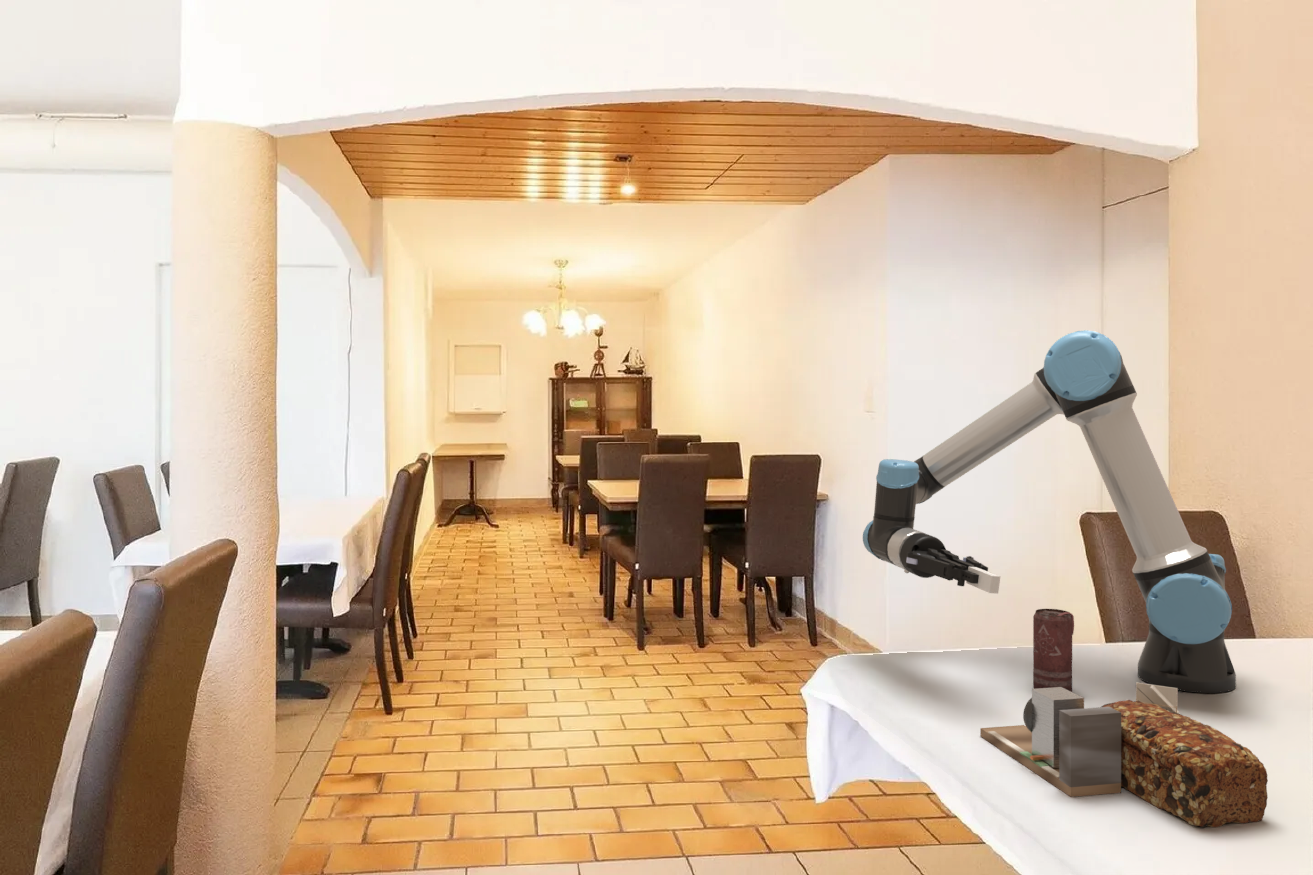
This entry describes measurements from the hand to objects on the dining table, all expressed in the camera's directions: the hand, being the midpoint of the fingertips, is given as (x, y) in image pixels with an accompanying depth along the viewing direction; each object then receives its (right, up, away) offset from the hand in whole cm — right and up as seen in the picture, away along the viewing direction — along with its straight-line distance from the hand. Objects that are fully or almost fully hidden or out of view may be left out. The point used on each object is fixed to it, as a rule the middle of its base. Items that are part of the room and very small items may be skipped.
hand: (995, 584), depth 142 cm
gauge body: (+1, -22, -15) cm, 26 cm away
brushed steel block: (+1, -21, -18) cm, 28 cm away
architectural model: (+22, -22, -5) cm, 32 cm away
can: (+16, -21, +15) cm, 30 cm away
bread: (+13, -23, -27) cm, 37 cm away
